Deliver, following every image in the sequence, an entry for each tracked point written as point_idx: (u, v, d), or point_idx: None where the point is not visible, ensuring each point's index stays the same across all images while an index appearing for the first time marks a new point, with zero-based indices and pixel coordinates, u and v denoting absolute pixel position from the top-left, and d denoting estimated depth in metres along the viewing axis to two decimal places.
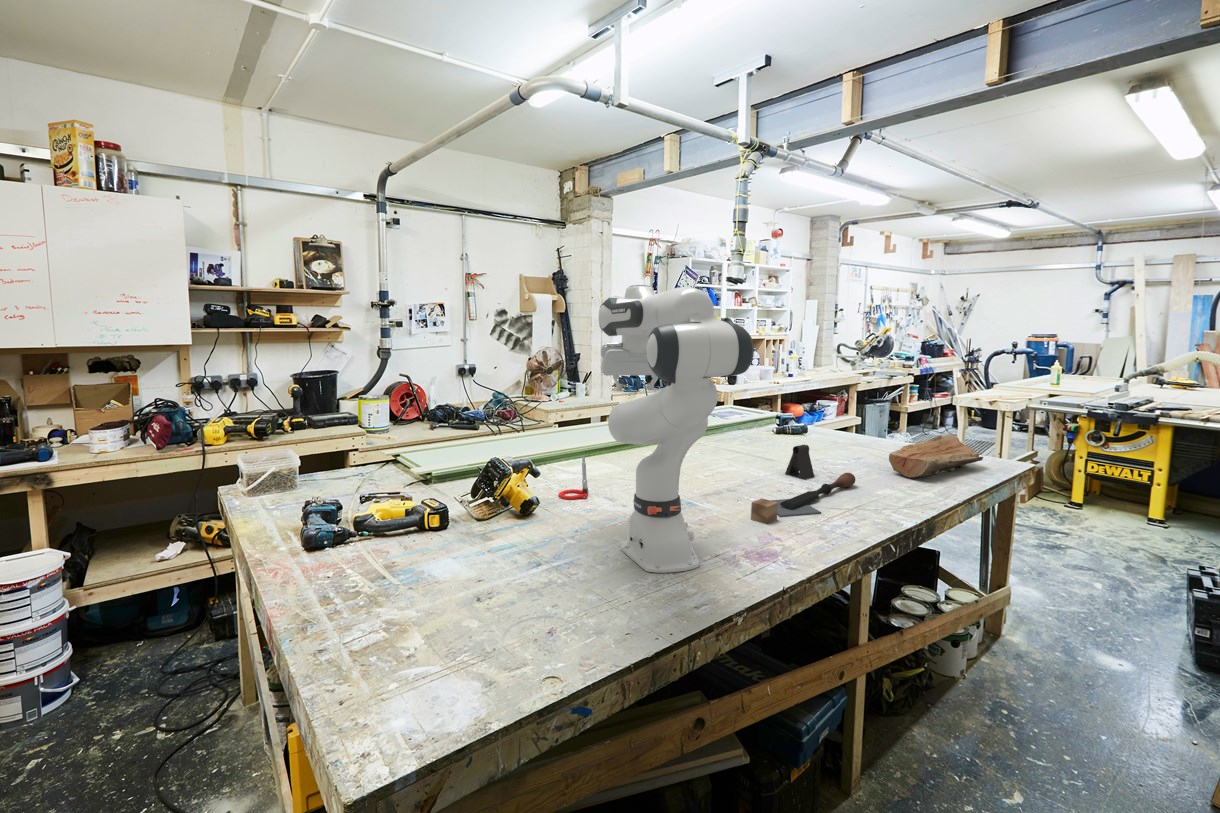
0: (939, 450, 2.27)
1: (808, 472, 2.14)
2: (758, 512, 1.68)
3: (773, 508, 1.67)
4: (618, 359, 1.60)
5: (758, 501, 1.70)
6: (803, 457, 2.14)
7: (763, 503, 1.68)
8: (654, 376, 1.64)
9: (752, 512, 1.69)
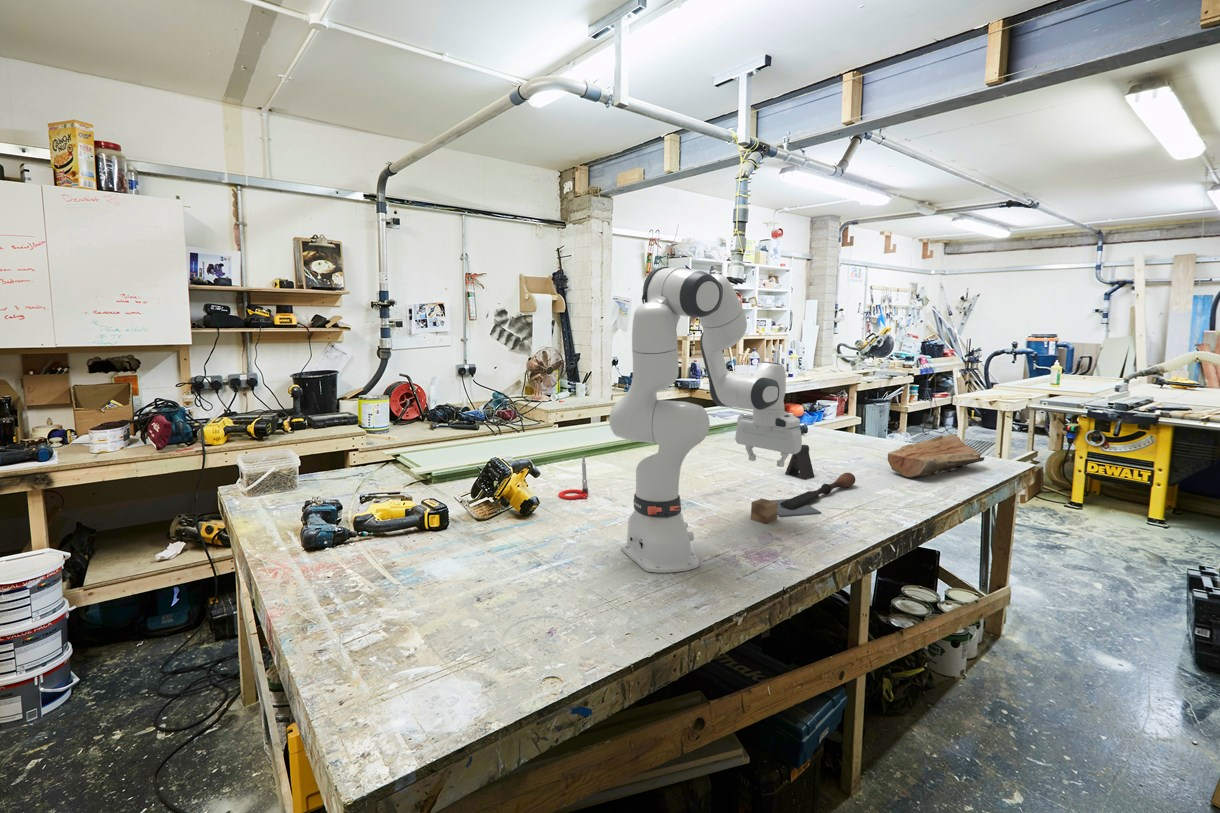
0: (939, 450, 2.27)
1: (808, 472, 2.14)
2: (758, 512, 1.68)
3: (773, 508, 1.67)
4: (747, 429, 1.69)
5: (758, 501, 1.70)
6: (803, 457, 2.14)
7: (763, 503, 1.68)
8: (781, 453, 1.62)
9: (752, 512, 1.69)
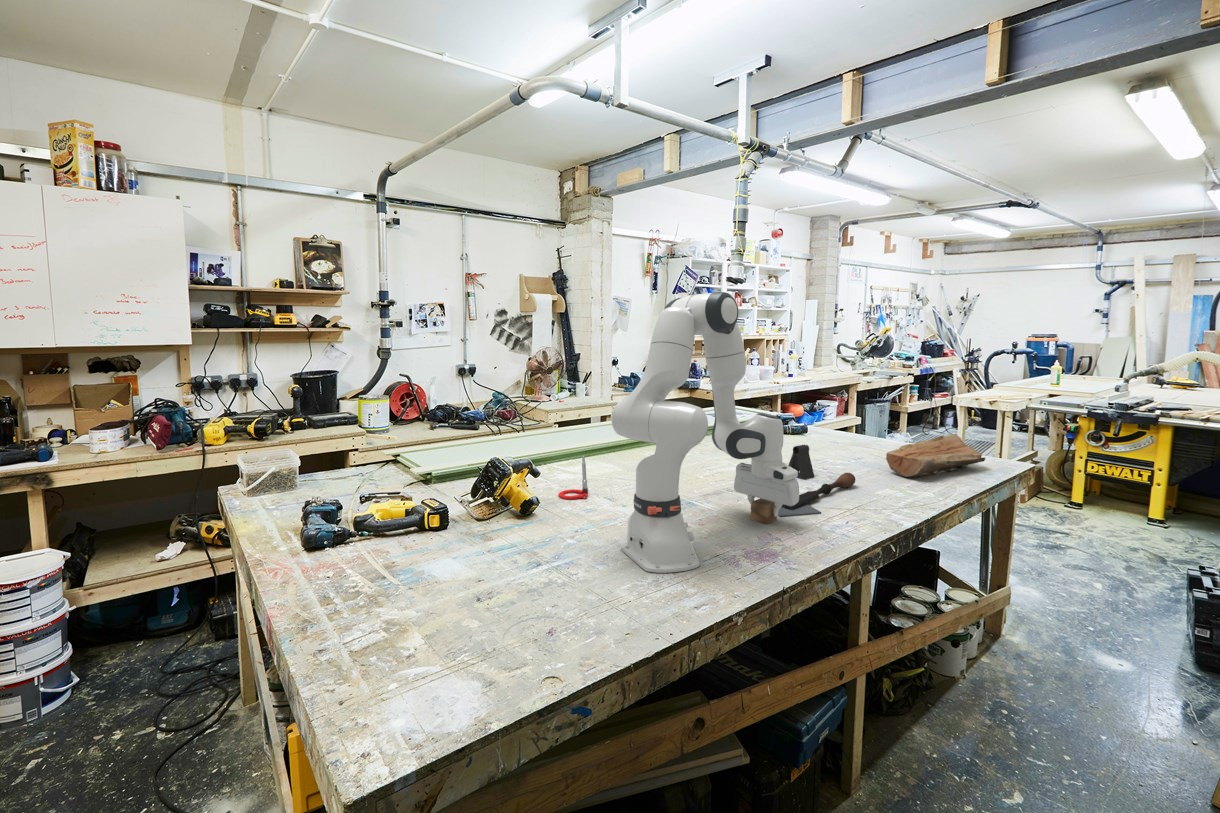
0: (939, 450, 2.27)
1: (808, 472, 2.14)
2: (758, 511, 1.68)
3: (773, 508, 1.67)
4: (746, 479, 1.71)
5: (758, 501, 1.70)
6: (803, 457, 2.14)
7: (763, 503, 1.68)
8: (775, 503, 1.65)
9: (752, 512, 1.69)
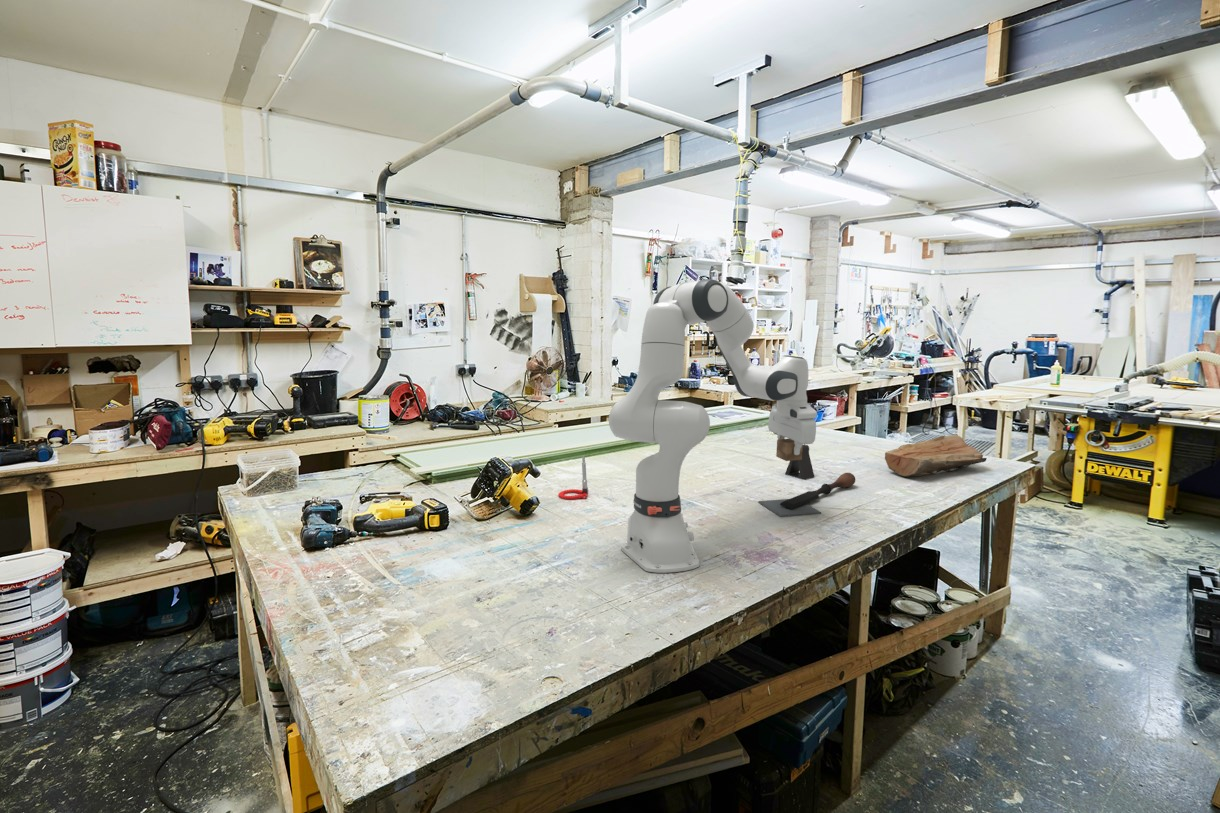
0: (939, 450, 2.27)
1: (808, 472, 2.14)
2: (780, 449, 1.76)
3: None
4: (776, 418, 1.80)
5: (784, 439, 1.78)
6: (803, 457, 2.14)
7: (786, 441, 1.75)
8: (795, 442, 1.72)
9: (777, 449, 1.78)
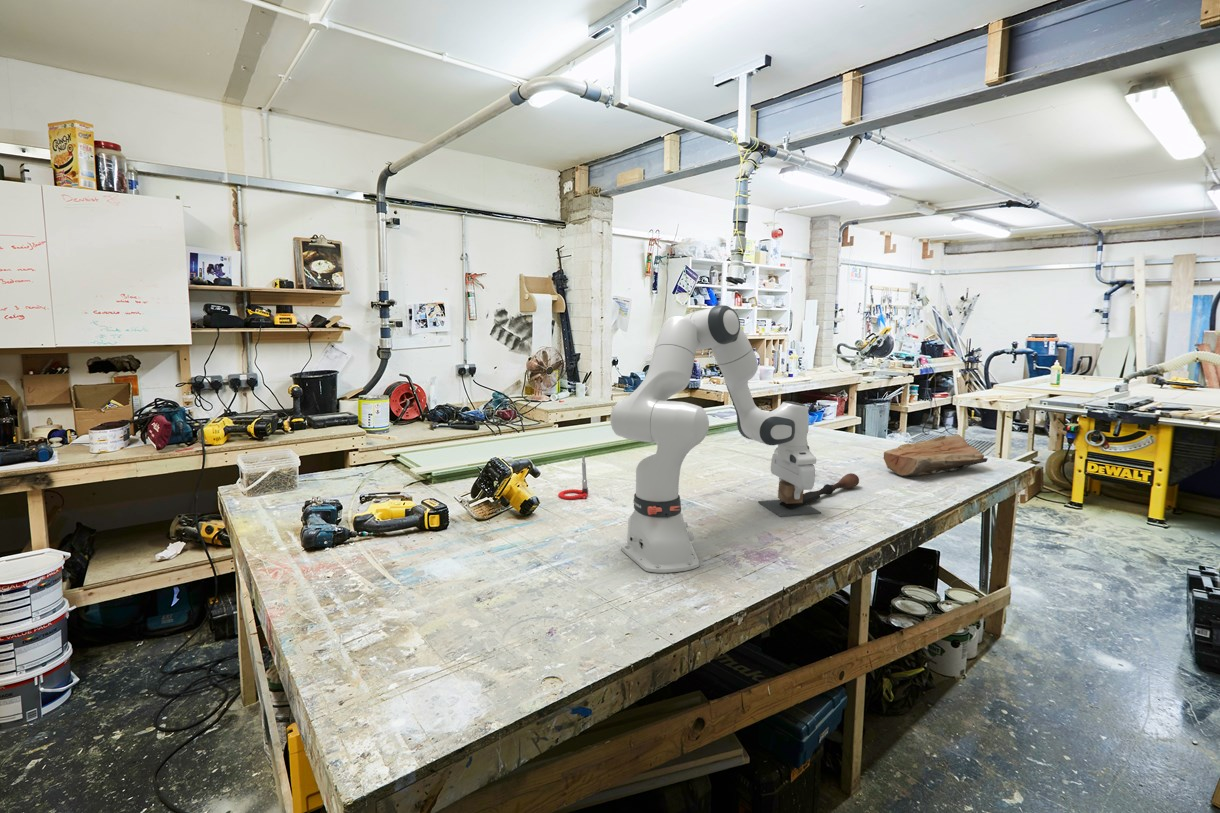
0: (939, 450, 2.26)
1: None
2: (782, 491, 1.79)
3: None
4: (777, 462, 1.83)
5: (786, 482, 1.81)
6: None
7: (788, 484, 1.78)
8: (795, 486, 1.75)
9: (779, 491, 1.81)
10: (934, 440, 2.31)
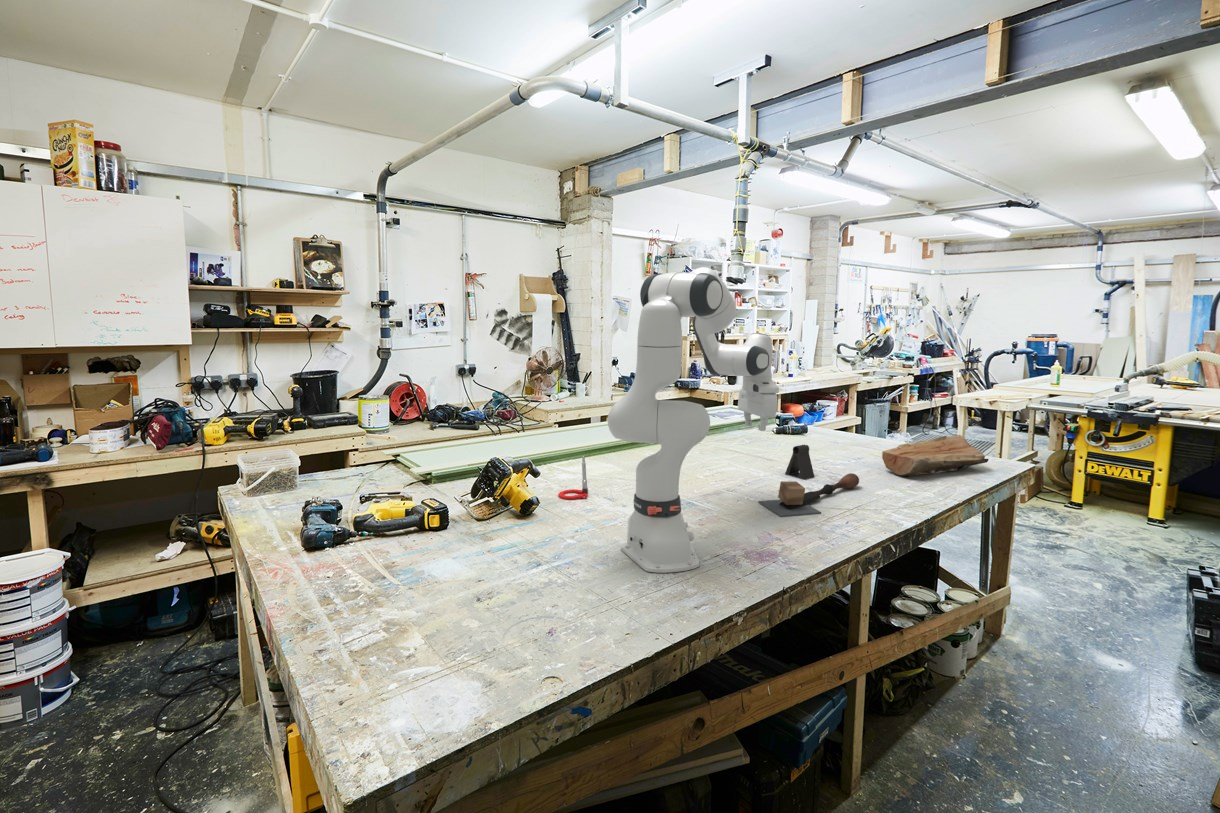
0: (939, 450, 2.26)
1: (808, 472, 2.14)
2: (783, 491, 1.79)
3: (797, 492, 1.76)
4: (744, 397, 1.85)
5: (788, 482, 1.80)
6: (803, 457, 2.14)
7: (789, 485, 1.78)
8: (760, 417, 1.75)
9: (779, 490, 1.81)
10: (934, 440, 2.31)
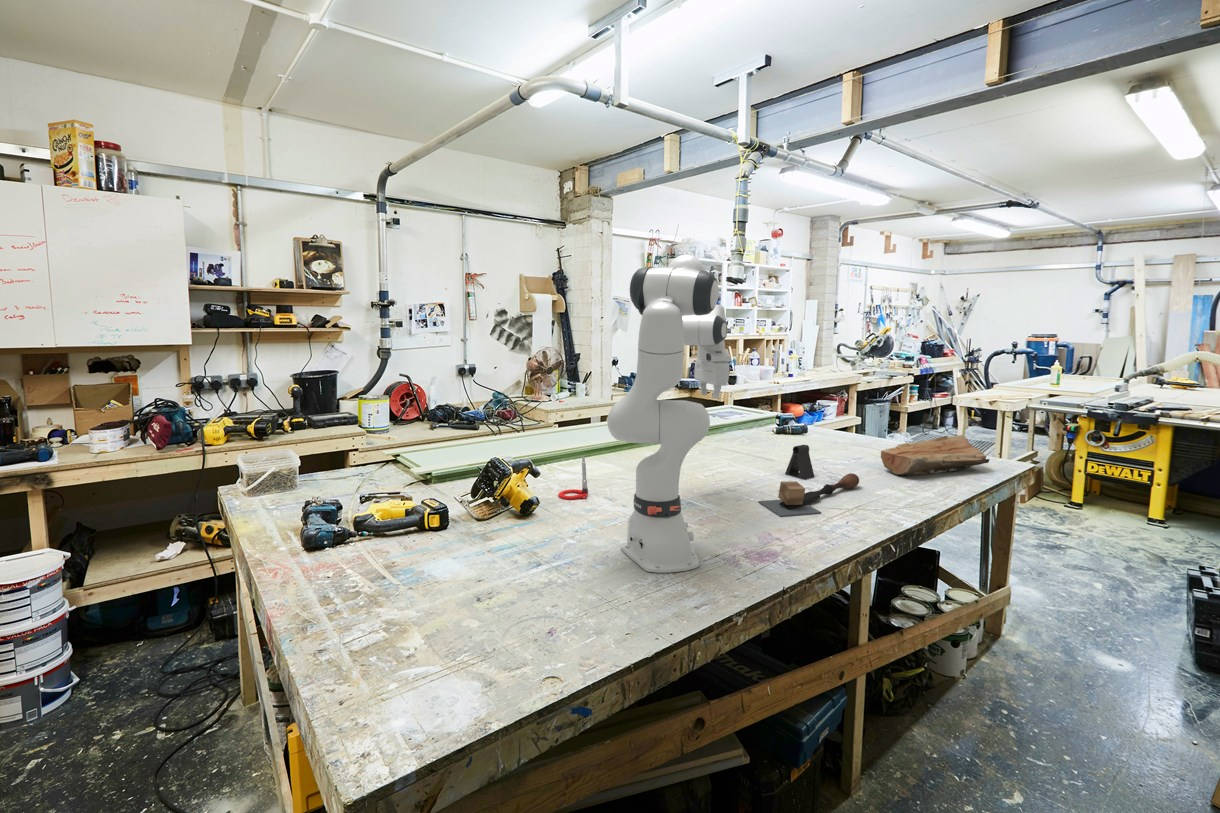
0: (939, 450, 2.26)
1: (808, 472, 2.14)
2: (783, 491, 1.79)
3: (797, 492, 1.76)
4: (699, 366, 1.90)
5: (788, 482, 1.80)
6: (803, 457, 2.14)
7: (789, 485, 1.78)
8: (713, 386, 1.81)
9: (779, 491, 1.81)
10: (935, 440, 2.31)
